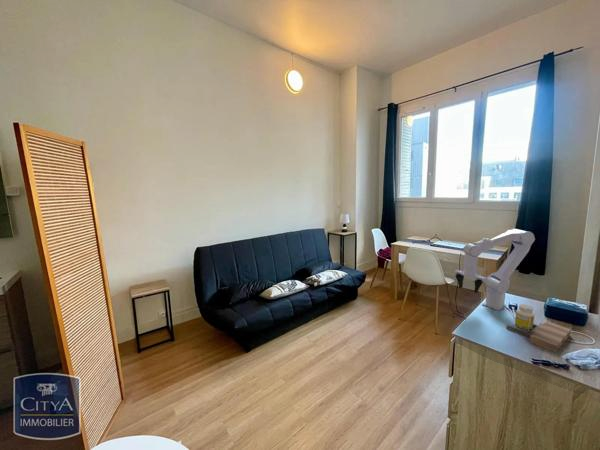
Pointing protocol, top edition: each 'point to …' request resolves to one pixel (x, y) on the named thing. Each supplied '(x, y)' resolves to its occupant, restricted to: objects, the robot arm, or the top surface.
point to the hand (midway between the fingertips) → (468, 289)
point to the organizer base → (546, 335)
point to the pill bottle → (524, 318)
